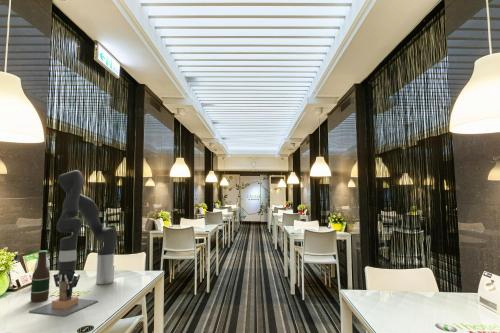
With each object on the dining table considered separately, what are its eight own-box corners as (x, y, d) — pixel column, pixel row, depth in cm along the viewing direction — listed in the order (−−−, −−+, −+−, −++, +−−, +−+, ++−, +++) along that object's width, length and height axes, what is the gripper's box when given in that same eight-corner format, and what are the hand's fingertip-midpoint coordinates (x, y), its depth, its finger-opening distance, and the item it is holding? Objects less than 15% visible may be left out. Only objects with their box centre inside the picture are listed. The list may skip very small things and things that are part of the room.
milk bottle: (29, 286, 182) (32, 251, 184) (41, 283, 190) (43, 249, 192) (40, 287, 180) (42, 252, 182) (51, 283, 188) (53, 250, 190)
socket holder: (65, 298, 160) (65, 291, 160) (98, 301, 155) (98, 294, 155) (28, 312, 141) (29, 304, 141) (64, 316, 136) (65, 307, 136)
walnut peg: (65, 300, 150) (66, 279, 151) (71, 301, 149) (72, 279, 150) (58, 303, 147) (60, 281, 148) (64, 303, 146) (66, 281, 147)
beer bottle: (32, 298, 160) (35, 251, 162) (50, 296, 163) (53, 250, 165) (28, 303, 153) (31, 253, 155) (46, 301, 156) (49, 252, 158)
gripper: (85, 258, 152) (83, 295, 150) (62, 257, 155) (60, 293, 154) (73, 261, 145) (71, 300, 143) (49, 260, 148) (46, 297, 146)
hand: (65, 296), depth 148 cm, fingers closed on walnut peg, 3 cm apart
